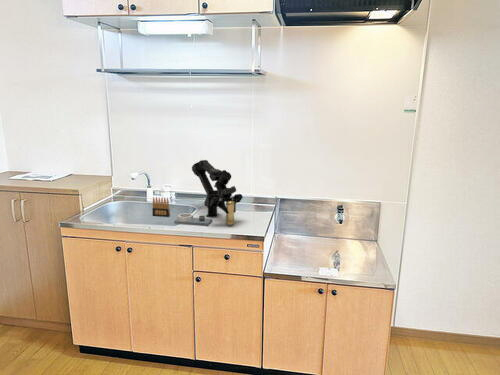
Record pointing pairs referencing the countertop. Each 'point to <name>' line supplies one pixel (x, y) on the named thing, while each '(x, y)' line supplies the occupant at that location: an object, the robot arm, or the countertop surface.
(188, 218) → the grey flat piece
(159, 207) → the ammunition clip
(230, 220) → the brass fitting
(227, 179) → the robot arm
